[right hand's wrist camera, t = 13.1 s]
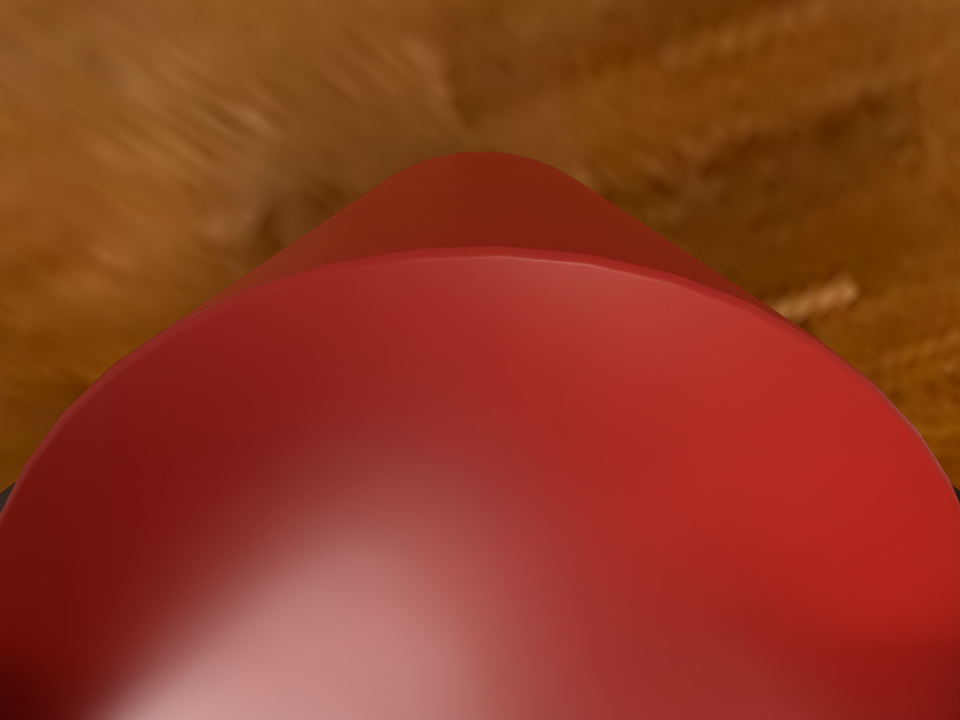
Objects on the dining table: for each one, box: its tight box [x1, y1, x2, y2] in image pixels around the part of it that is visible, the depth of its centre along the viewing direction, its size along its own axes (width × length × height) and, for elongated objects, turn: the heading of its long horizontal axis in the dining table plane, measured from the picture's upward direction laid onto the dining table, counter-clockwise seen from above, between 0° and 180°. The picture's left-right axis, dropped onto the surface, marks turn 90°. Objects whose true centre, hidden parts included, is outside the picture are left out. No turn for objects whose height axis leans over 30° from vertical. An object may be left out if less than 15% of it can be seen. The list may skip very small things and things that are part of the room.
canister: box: [0, 151, 960, 720], centre depth 11 cm, size 9×9×12 cm
